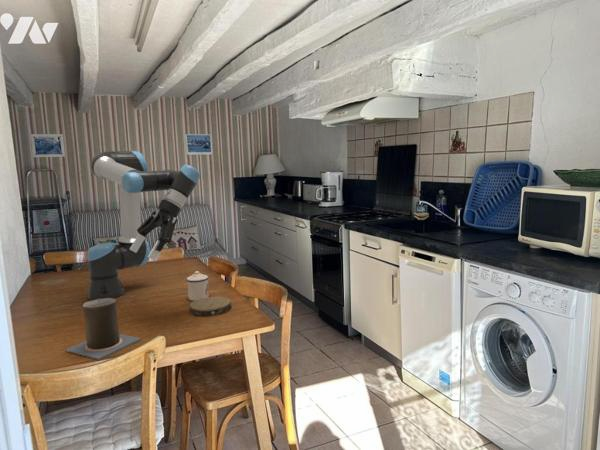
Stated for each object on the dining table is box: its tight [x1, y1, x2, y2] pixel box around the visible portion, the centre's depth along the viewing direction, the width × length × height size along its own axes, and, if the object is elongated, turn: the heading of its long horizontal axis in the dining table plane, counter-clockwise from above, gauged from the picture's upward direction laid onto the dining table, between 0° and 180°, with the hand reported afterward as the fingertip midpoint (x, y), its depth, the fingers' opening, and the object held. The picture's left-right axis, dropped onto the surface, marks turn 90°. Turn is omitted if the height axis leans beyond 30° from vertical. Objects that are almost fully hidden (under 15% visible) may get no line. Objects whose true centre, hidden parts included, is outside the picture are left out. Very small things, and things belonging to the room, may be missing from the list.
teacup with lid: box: [186, 270, 210, 302], centre depth 186 cm, size 12×9×12 cm
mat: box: [64, 333, 142, 361], centre depth 139 cm, size 16×16×1 cm
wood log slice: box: [189, 296, 232, 317], centre depth 169 cm, size 16×16×3 cm
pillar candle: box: [82, 298, 120, 349], centre depth 138 cm, size 10×10×15 cm
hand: (141, 255), depth 152 cm, fingers open, 13 cm apart
